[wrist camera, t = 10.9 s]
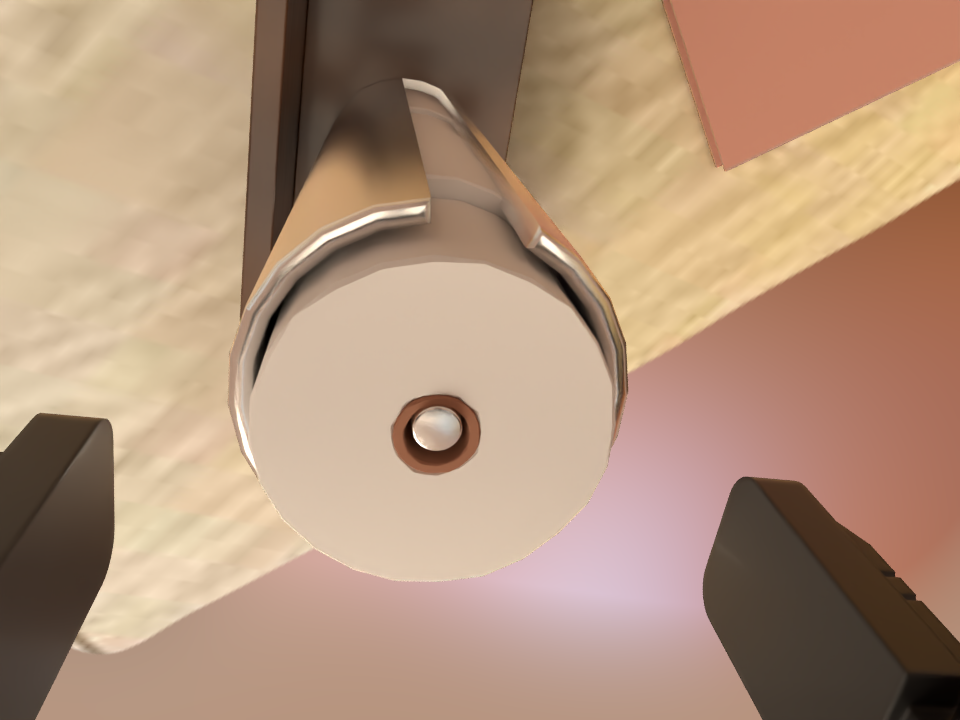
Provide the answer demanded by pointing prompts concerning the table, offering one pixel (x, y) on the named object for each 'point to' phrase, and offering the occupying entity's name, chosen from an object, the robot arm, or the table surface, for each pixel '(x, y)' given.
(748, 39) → the notebook
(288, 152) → the shelf
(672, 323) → the table surface
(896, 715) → the robot arm
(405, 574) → the beige cylinder
